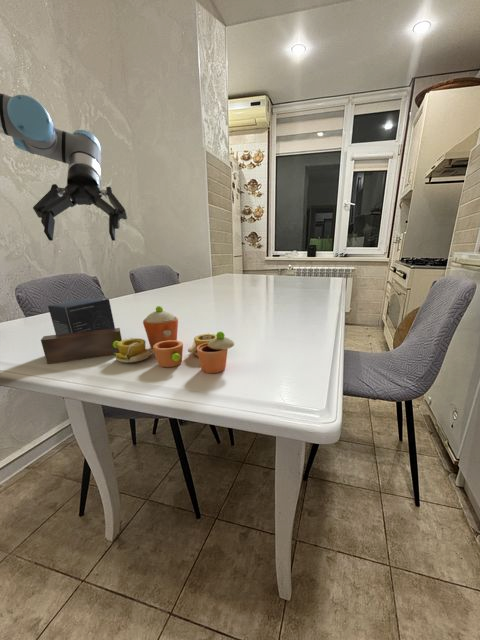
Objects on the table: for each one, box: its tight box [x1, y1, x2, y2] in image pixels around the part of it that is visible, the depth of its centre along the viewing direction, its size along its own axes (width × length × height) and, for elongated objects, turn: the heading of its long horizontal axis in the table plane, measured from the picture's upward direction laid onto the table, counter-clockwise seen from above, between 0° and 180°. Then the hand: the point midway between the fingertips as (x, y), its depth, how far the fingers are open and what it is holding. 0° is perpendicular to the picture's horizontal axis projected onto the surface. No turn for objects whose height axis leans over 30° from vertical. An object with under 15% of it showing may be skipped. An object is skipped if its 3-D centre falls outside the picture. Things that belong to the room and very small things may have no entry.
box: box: [47, 296, 116, 335], centre depth 66 cm, size 11×7×10 cm, turn 155°
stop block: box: [40, 327, 123, 365], centre depth 61 cm, size 14×3×5 cm, turn 116°
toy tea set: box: [113, 305, 235, 374], centre depth 60 cm, size 26×16×10 cm, turn 72°
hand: (81, 236), depth 70 cm, fingers open, 13 cm apart
